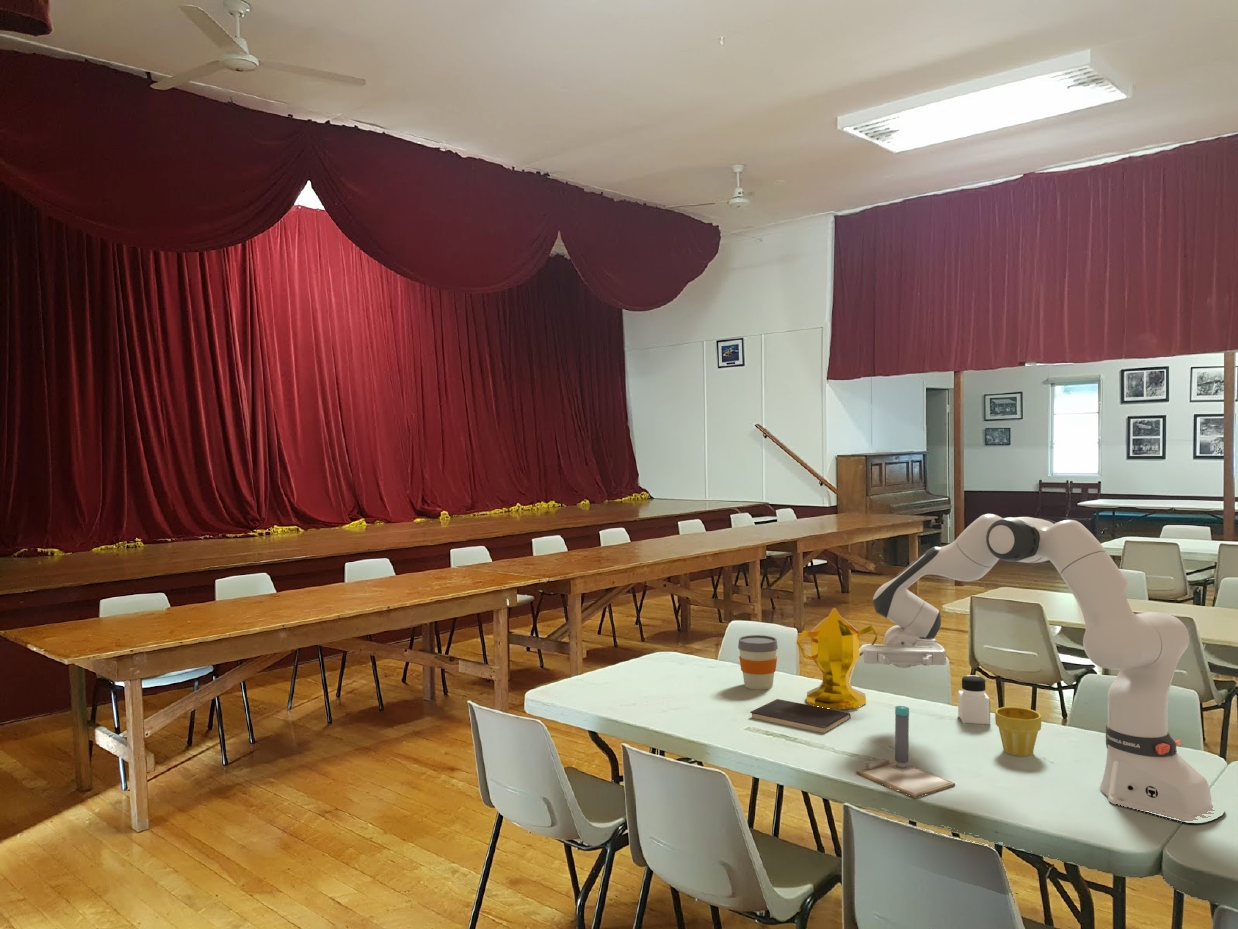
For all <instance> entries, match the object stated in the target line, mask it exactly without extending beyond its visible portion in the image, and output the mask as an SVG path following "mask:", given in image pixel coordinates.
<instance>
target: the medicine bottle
mask: <svg viewBox="0 0 1238 929" xmlns="http://www.w3.org/2000/svg"><path fill="white" fill-rule="evenodd" d="M957 714H958V717H959V719H960V720H961V722H962V723H963V724H974V725H975V724H976V725H977V724H978V725H990V724H991V699H990V697H989V696H988V694H987V693H986V679H985V678H984V677H982V676H979V675H971V674H970V675H969V674H968V675H965V676H963V677H962V678H961V690H958V691H957Z"/></svg>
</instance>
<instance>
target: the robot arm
mask: <svg viewBox="0 0 1238 929" xmlns="http://www.w3.org/2000/svg"><path fill="white" fill-rule="evenodd" d="M1109 554H1110V553H1108V551H1107V550H1106V548H1105V547H1104V546H1103V545H1102V543H1101V542H1100V541H1099V540H1098V538H1096V537H1095V535H1094V534H1093V533H1092V532H1091V531H1090V530H1089V529H1088V528H1086V526H1084V524H1082V523H1081V522H1079V521H1078V520H1075V519H1064V520H1060V521H1058V522H1056V521H1054V520H1051V519H1047V518H1036V517H1030V516H1018V517H1016V516H1015V517H1012V516H1010V517H1008V516H1007V517H1001V516H999V515H998V514H994V513H985V514H981V515H980V516H979V517H978V518H976V519H975V520H974V521H973V522H971V523H970V524H969V525H968V526H967V527H966V528H965V529H964V530H963V531H962V532H961V533H960V534H959V536H957V537H956V539H955V540H953V542H950V543H949V544H946V545H944V546H933V547H931V548H929V549H927V550H926V551H925V552H923V553H922V554H921V555H919V556H918V557H916V558H915V559H914V560H913V561H911V563H909V564H908V565H907V566H906V567H904V568H903V569H902V570H901V571H900V572H898V573H897V574H896V575H894V576H893V577H892V578H891V579H889V580H887V581H886V582H885V583H883V584H881V585H880V586H879V588H877V590H876V591H875V592H874V595H873V597H872V601H871V602H872V605H873V608H874V612H875V613H876V614H879V615H880V616H882V617H884V618H885V619H888V620H889V621H890V622H892V623H894V624H896V625H893V626H891V627H889V628H888V629H887V630H886V632H885V634H884V636H883V644H874V645H871V644H869V645H865V647H864V648H862V650H861V652H862V653H863V662H864V663H865V664H869V665H870V664H871V665H873V664H877V665H884V666H887V665H888V666H889V665H893V666H894V667H896V668H899V669H900V668H901V669H907V668H911V667H916V666H945V665H947V651H946V649H945V648H944V646H943V645H941V644H940V643H938V642H937V639H936V638H935V637H936V636H937V635H938V632H939V631H940V628H941V624H942V616H941V612H940V610H939V609H938V608H936V607H935V606H934V605H932V604H930V603H929V602H928V601H926V600H925V599H922V598H921V597H919V596H918V595H916V594H914V593H913V592H912V591H910V590H909V589H908V588H909V587H911V586H912V585H913V584H914V583H916V582H918V580H920V578H922V577H923V576H926V575H927V576H928V575H936V576H941V577H944V578H948V579H952V580H955V581H960V582H974V581H978V580H980V579H981V578H983V577H984V576H986V574H987V573H989V572H990V571H991V570H992V568H994V566H995V565H996V564H997V563H998V562H999V560H1001V561H1006V562H1010V563H1015V562H1018V563H1025V564H1036V563H1049V562H1050V563H1052V565H1053V566H1054V568H1055V569H1056V570H1057V573H1058V574H1059V575H1060V577H1061V578H1062V580H1063V581H1064V583H1065V584H1066V586H1067V588H1068V589H1069V591H1070V592H1071V594H1072V595H1073V597H1074V599H1075V600H1076V602H1077V604H1078V606H1079V607H1080V611H1081V613H1082V616H1083V619H1084V623H1085V632H1084V634H1083V638H1082V644H1083V645H1082V646H1083V649H1084V653H1085V654H1086V656H1087V658H1088V659H1089V661H1091V662H1092V664H1094V665H1096V666H1097V667H1099V668H1102V669H1106V670H1115V671H1116V670H1117V671H1118V673H1117V676H1116V677H1115V680H1113V682H1112V683H1111V685H1109V686H1110V687H1109V688H1108V691H1107V724H1106V725H1105V746H1106V749H1107V750H1106V751H1107V752H1106V760H1105V767H1104V771H1103V772H1104V773H1103V777H1102V780H1101V783H1100V786H1099V790H1100V791H1101V792H1102V794H1104V795H1105V796H1106V797H1107V799H1108V802H1109V803H1110V802H1111V804H1113V805H1116V804H1118V805H1117V806H1120V805H1121V806H1120V807H1123V806H1124V807H1123V808H1127V807H1129V808H1128V809H1130V808H1135V809H1138V810H1143V811H1149V812H1152V813H1156V814H1161V815H1164V816H1167V817H1171V818H1176V819H1179V820H1181V821H1193V820H1198V819H1196V818H1195V817H1197V816H1200V817H1202V818H1208V817H1211V816H1208V817H1206V816H1204V815H1202V814H1214V813H1211V812H1208V811H1215V810H1213V809H1212V808H1213V804H1216V803H1213V801H1214V800H1212V795H1211V789H1210V785H1209V782H1208V780H1207V779H1206V778H1205V776H1204V775H1202V774H1201V773H1200V772H1199V771H1197V770H1196V769H1195V767H1193V766H1192V765H1191V764H1189V762H1187V761H1186V759H1184V758H1183V757H1182V756H1181V755H1180V754H1179V753H1178V751H1177V747H1179V746H1180V745H1182V744H1181V738H1180V739H1176V740H1174V739H1173V737H1171V734H1170V733H1169V731H1168V711H1169V710H1168V706H1169V705H1168V703H1169V694H1170V690H1171V685H1172V681H1173V680H1174V679H1173V678H1174V676H1175V671H1176V669H1177V666H1178V664H1179V663H1178V662H1179V661H1180V659H1181V657H1182V655H1183V654H1184V653H1185V652H1186V650H1187V649H1188V647H1189V645H1190V634H1189V631H1188V628H1187V627H1186V625H1185V624H1184V622H1183V621H1181V620H1180V619H1179V618H1177V617H1176V616H1174V615H1172V614H1169V613H1165V612H1164V613H1163V612H1155V611H1146V612H1142V613H1141V612H1140V613H1135V612H1133V610H1132V608H1131V606H1130V604H1129V602H1128V598H1127V590H1128V588H1129V582H1128V580H1127V578H1126V577H1125V575H1124V574H1123V573H1122V571H1121V569H1120V568H1119V566H1117V564H1116V563H1115V561H1114V559H1113V558H1112V557H1111V556H1110V555H1109ZM1138 810H1137V811H1138ZM1207 812H1208V813H1207Z"/></svg>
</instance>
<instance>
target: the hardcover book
mask: <svg viewBox="0 0 1238 929" xmlns="http://www.w3.org/2000/svg"><path fill="white" fill-rule="evenodd" d="M749 713H750V714H751V719H755V720H761V721H765V722H771V723H775V724H780V725H785V726H789V727H794V728H798V729H802V730H807V729H808V730H809V731H813V732H817V733H821V732H824V733H823V734H826V733H827V731H828V732H830V731H831V730H833V729H834V728H836V727H837V725H838V724H839V725H840V723H841V722H843V723H844V722H846V721H847V720H846V719H848V718H850V719H851V716H852V715H851V712H848V711H842V710H838V709H827V708H822V707H817V706H813V705H811V704H805V703H800V702H795V701H789V700H786V699H785V700H783V699H779V698H777V699H774V700H772V701H770V702H768V703H765V704H764V705H762V706H759V707H757V708H755V709H753V710H751V711H750V712H749ZM845 720H846V721H845ZM848 720H849V719H848ZM841 724H842V723H841ZM839 725H838V726H839ZM835 726H836V727H835ZM833 727H834V728H833ZM832 728H833V729H832ZM830 729H831V730H830ZM808 730H807V731H808ZM825 732H826V733H825Z"/></svg>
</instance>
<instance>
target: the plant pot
mask: <svg viewBox="0 0 1238 929" xmlns="http://www.w3.org/2000/svg"><path fill="white" fill-rule="evenodd" d="M994 716H995V717H994V718H995V719H994V720H995V725H996V726H997V727H998V731H999V735H1000V740H1001V744H1002V749H1003V751H1004V752H1005V753H1006V754H1008V755H1011V756H1015V757H1029V756H1031V755H1033V754H1034V750H1035V745H1036V741H1037V737H1038V733H1039V732H1040V730H1042V714H1041V713H1040V712H1038V711H1035V710H1033V709H1030V708H1027V707H1020V706H1019V707H1018V706H1002V707H999V708H997V709H995V714H994Z"/></svg>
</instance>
